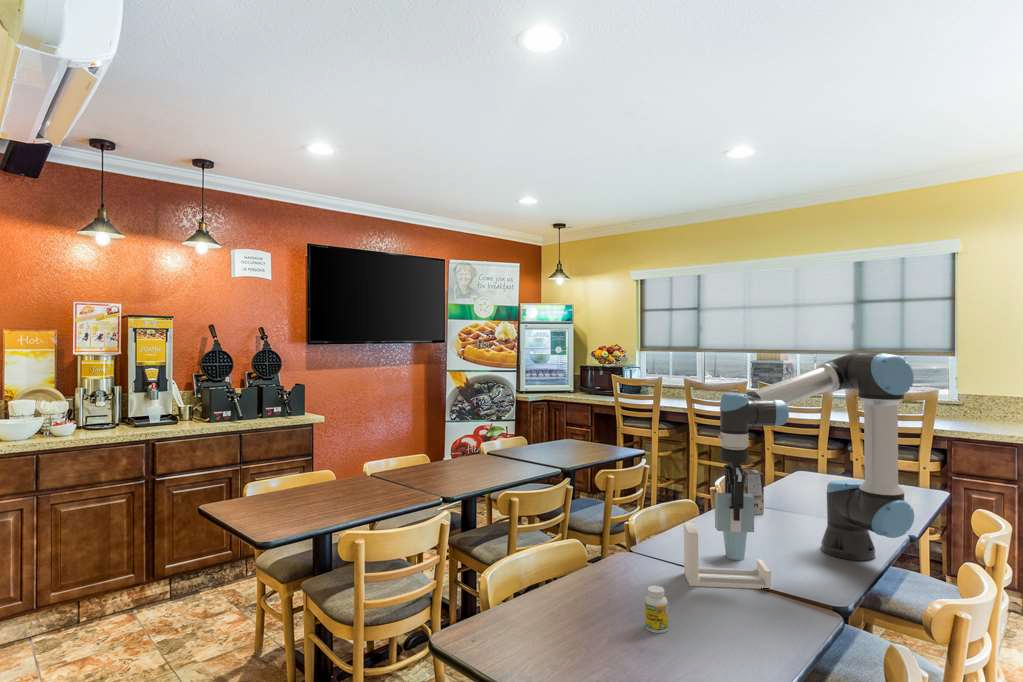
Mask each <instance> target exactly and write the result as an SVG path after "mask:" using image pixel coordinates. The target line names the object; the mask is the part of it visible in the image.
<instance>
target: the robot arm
mask: <svg viewBox="0 0 1023 682" xmlns="http://www.w3.org/2000/svg"><path fill="white" fill-rule="evenodd" d="M913 384H914V371H913V368H912V366H911V365H910V364H909V362H908V361H906V360H905V359H904V358H903V357H902V356H900V355H896V354H892V353H891V354H889V353H886V352H885V353H884V352H883V353H865V352H864V353H863V352H856V353H851V354H850V353H849V354H846V355H843V356H839V357H837V358H834V359H831V360H827V361H826V362H823V363H820V364H818V366H817V368H815V369H812V370H810V371H806V372H803V373H801V374H797V375H795V376H792V377H789V378H787V379H783V380H781V381H777V382H775V383H772V384H768V385H766V386H763V387H760V388H757V389H755V390H752V391H748V392H745V393H742V392H739V393H738V392H736V393H735V392H726V393H723V394H722V395H721V397H720V406H719V410H720V412H719V413H720V414H719V416H720V421H719V423H720V427H719V428H720V435H718V436H717V437H718V439H719V441H720V446H721V447H720V448H719V450H720V451H719V455H720V457H719V458H720V459H719V460H721V461H722V462H725V463H726V464H724V466H723V469H724V493H731V502H732V506H729V509H730V531H735V532H741V509H743V507H744V506H743V502H744V479H745V476H744V475H743V469H744V468H742V464H745V463H748V462H749V449H748V447H749V427H772V426H773V427H775V426H784V425H785V424H786V423H787V422H788V420H789V417H790V414H789V413H790V411H789V410H790V409H789V407H788V405H791V404H793V403H796V402H799V401H802V400H805V399H808V398H810V397H812V396H817V395H818V394H822V393H824V392H829V393H835V392H837V391H841V390H858V391H857V394H858V395H857V397H858V400H860V401H861V402H862V403H863V409H864V410H863V419H864V420H863V423H864V424H863V425H864V426H863V430H864V431H863V432H864V435H863V436H864V439H863V440H864V441H863V443H864V444H863V447H864V450H863V451H864V455H863V457H864V467H863V468H864V481H862V480H854V479H853V480H852V479H837V480H831V481H830V482H828V483H827V487H826V488H827V489H826V515H827V517H826V518H827V519H826V521H827V522H826V523H827V524H826V528H825V531H824V533H823V537H822V539H821V541H820V542H821V546H820V548H821V550H822V551H823V552H824V553H826V554H828V555H830V556H832V557H835V558H839V559H844V560H848V561H849V560H851V561H870V560H873V559H874V558H876V548H875V545H874V543H873V540H872V537H871V534H870V532H873V533H875V534H876V535H878V536H881V537H885V538H890V539H897V538H900V537H903V536H904V535H906V533H907V532H908V531H910V530H911V528H912V527H913V524H914V522H915V521H914V520H915V511H914V509H913V507H912V506H911V504H910V503H908V502H907V501H905V490H904V489H903V488H902V487H900V485H899V420H898V419H899V417H898V416H899V414H898V413H899V410H898V407H899V406H898V405H899V404H901V403H902V402H903V401H904V399H905V394H906V393H908V392H909V391H910V389H911V387H913Z"/></svg>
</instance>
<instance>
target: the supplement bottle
mask: <svg viewBox="0 0 1023 682" xmlns="http://www.w3.org/2000/svg"><path fill="white" fill-rule="evenodd" d="M646 593H647V595H646V596H645V598H644V620H645V621H644V623H645V628H646V630H647V631H650V632H652V633H654V634H661V633H665V632H667V631H668V629H669V616H668V615H669V613H668V611H669V610H668V609H669V608H668V599H667V598H666V596H665V589H664V587H662V586H660V585H650V586H647V591H646Z"/></svg>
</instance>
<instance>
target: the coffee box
mask: <svg viewBox="0 0 1023 682" xmlns="http://www.w3.org/2000/svg"><path fill="white" fill-rule="evenodd" d="M742 469H743V475H744V476H745V479H744V494H751V495H753V496H754V515H763V516H764V514H765V511H764V510H765V507H764V506H765V502H764V501H765V499H764V498H765V497H764V496H765V495H764V492H765V490H764V489H765V487H764V486H765V484H764V483H765V479H764V475H765V474H764V473H763V472H761V471H760V470H759V469H757V468H742Z"/></svg>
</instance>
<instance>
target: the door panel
mask: <svg viewBox="0 0 1023 682" xmlns="http://www.w3.org/2000/svg"><path fill="white" fill-rule="evenodd" d="M729 506H732V502H731V493H725V492H714V528H715V530H716V531H718V532H723V531H730V509H729ZM743 506H744V507H743V509H741V532H747V533H755V514H754V496H753V495H751V494H744V502H743ZM733 532H735V531H733Z"/></svg>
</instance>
